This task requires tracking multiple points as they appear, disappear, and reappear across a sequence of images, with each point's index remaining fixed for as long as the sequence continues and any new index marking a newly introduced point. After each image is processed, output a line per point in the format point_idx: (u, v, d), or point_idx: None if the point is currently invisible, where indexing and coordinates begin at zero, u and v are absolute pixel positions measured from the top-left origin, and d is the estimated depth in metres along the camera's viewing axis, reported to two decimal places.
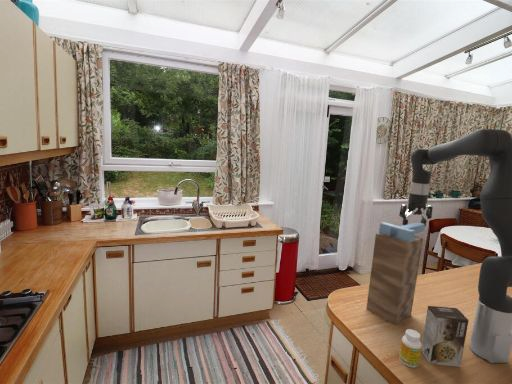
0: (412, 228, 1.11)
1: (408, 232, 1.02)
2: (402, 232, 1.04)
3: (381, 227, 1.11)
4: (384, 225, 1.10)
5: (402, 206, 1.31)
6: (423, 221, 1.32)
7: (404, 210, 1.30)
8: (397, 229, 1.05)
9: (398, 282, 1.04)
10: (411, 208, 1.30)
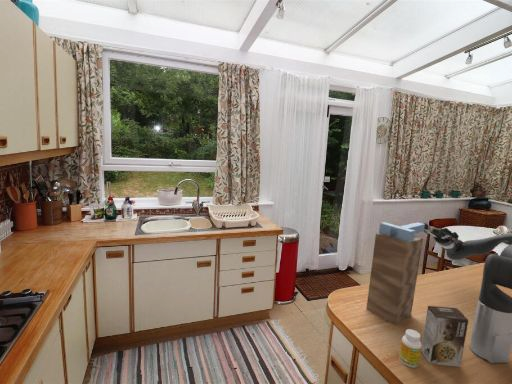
0: (412, 228, 1.11)
1: (408, 232, 1.02)
2: (402, 232, 1.04)
3: (381, 227, 1.11)
4: (384, 225, 1.10)
5: None
6: None
7: None
8: (397, 229, 1.05)
9: (398, 282, 1.04)
10: None
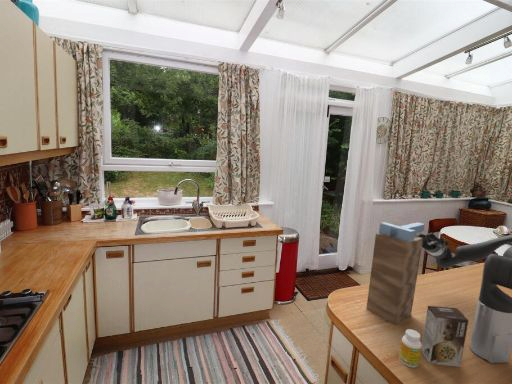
0: (412, 228, 1.11)
1: (408, 232, 1.02)
2: (402, 232, 1.04)
3: (381, 227, 1.11)
4: (384, 225, 1.10)
5: None
6: None
7: None
8: (397, 229, 1.05)
9: (398, 282, 1.04)
10: None
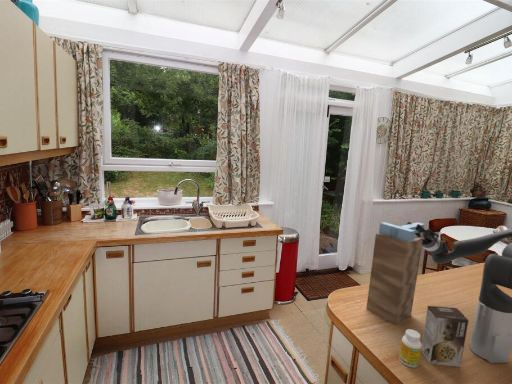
0: (412, 228, 1.11)
1: (408, 232, 1.02)
2: (402, 232, 1.04)
3: (381, 227, 1.11)
4: (384, 225, 1.10)
5: None
6: None
7: None
8: (397, 229, 1.05)
9: (398, 282, 1.04)
10: None
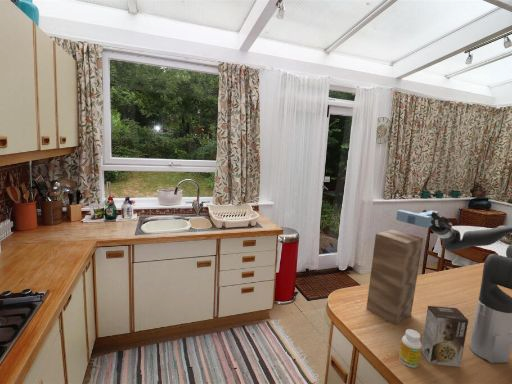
0: (428, 215, 1.17)
1: (425, 218, 1.08)
2: (419, 218, 1.10)
3: (398, 214, 1.17)
4: (401, 212, 1.16)
5: None
6: None
7: None
8: (414, 216, 1.11)
9: (398, 282, 1.04)
10: None
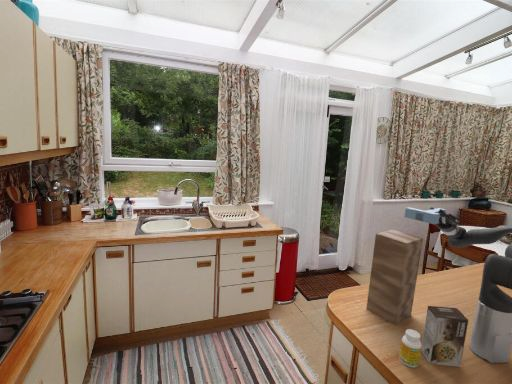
0: (435, 212, 1.20)
1: (433, 215, 1.11)
2: (427, 215, 1.13)
3: (407, 212, 1.20)
4: (410, 210, 1.19)
5: None
6: None
7: None
8: (422, 213, 1.15)
9: (398, 282, 1.04)
10: None
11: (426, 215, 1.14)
